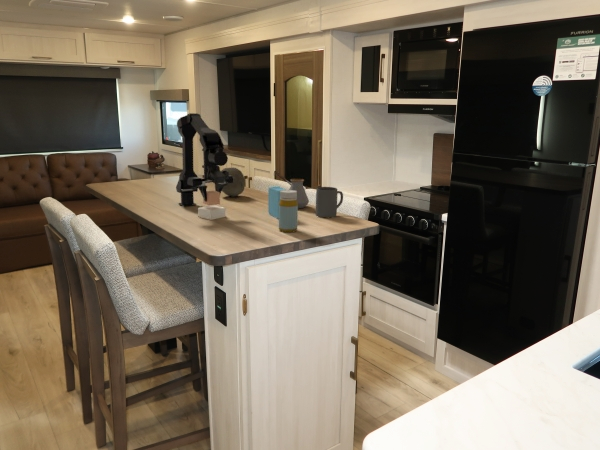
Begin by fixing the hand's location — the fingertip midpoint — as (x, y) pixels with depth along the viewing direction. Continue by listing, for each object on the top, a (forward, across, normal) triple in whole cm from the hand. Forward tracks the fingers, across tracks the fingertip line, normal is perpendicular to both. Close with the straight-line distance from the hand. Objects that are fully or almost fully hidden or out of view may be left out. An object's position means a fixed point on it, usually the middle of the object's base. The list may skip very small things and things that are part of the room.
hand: (211, 200), depth 196 cm
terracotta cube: (+1, 0, 0) cm, 1 cm away
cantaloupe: (+7, +30, +36) cm, 47 cm away
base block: (+7, 0, 0) cm, 7 cm away
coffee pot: (+7, +42, +2) cm, 43 cm away
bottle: (+7, +13, -36) cm, 39 cm away
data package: (+7, +24, -14) cm, 29 cm away
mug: (+7, +44, -25) cm, 51 cm away
